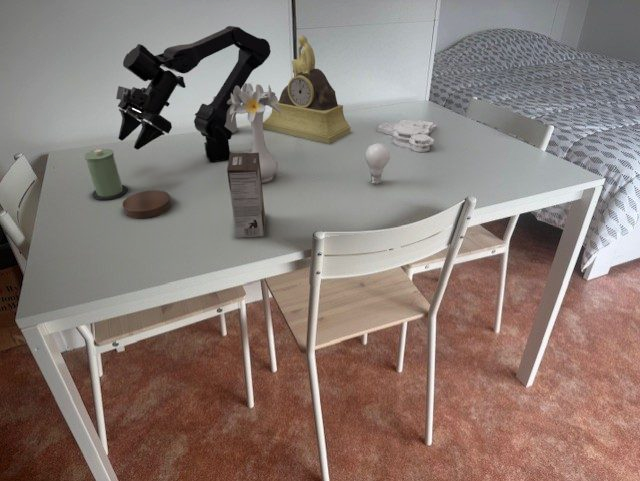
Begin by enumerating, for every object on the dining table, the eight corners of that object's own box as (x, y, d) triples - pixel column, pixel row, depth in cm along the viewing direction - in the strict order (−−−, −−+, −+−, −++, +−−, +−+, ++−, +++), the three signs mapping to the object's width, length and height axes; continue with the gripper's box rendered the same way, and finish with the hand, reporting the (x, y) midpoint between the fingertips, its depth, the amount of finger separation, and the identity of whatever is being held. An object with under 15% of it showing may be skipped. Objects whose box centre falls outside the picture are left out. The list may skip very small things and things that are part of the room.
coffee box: (238, 217, 105) (229, 152, 97) (265, 216, 106) (259, 151, 97) (235, 238, 98) (225, 169, 89) (264, 236, 98) (258, 168, 89)
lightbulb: (372, 190, 116) (374, 150, 110) (359, 181, 121) (360, 142, 115) (392, 185, 119) (395, 145, 113) (379, 176, 123) (381, 138, 117)
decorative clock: (262, 128, 158) (255, 35, 142) (285, 118, 167) (280, 30, 151) (329, 144, 145) (329, 43, 128) (350, 132, 154) (352, 37, 137)
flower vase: (269, 161, 133) (262, 73, 120) (294, 185, 119) (290, 89, 106) (227, 170, 128) (214, 79, 115) (248, 196, 115) (236, 96, 101)
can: (232, 136, 152) (228, 100, 146) (212, 135, 153) (206, 99, 147) (240, 129, 158) (236, 94, 152) (220, 127, 160) (215, 93, 153)
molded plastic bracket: (454, 130, 154) (456, 117, 151) (427, 154, 136) (428, 140, 134) (392, 120, 164) (393, 107, 162) (360, 141, 146) (360, 127, 144)
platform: (169, 194, 116) (168, 187, 115) (173, 213, 108) (171, 206, 106) (124, 201, 113) (122, 194, 112) (124, 222, 104) (122, 214, 103)
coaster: (127, 183, 122) (127, 182, 122) (127, 197, 115) (127, 195, 115) (93, 188, 120) (93, 187, 119) (91, 202, 113) (91, 201, 113)
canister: (128, 186, 120) (117, 146, 114) (116, 197, 114) (104, 156, 108) (104, 185, 120) (92, 145, 114) (91, 196, 115) (77, 155, 109)
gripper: (116, 67, 115) (84, 119, 115) (149, 79, 104) (115, 137, 104) (151, 92, 124) (122, 141, 124) (186, 106, 113) (154, 159, 112)
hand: (127, 144), depth 116 cm, fingers open, 9 cm apart
